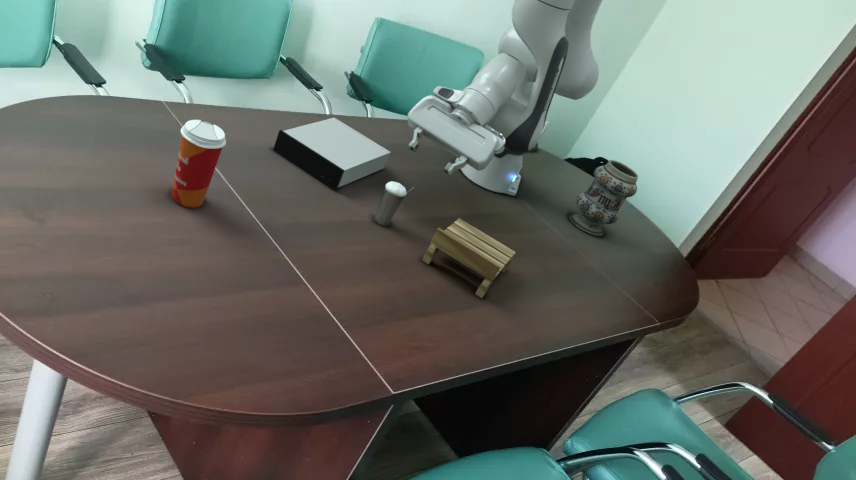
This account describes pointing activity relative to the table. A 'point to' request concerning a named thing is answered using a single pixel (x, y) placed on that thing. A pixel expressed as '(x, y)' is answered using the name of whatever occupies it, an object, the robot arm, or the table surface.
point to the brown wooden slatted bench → (471, 251)
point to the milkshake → (390, 202)
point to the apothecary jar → (604, 197)
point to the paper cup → (196, 161)
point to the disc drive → (331, 152)
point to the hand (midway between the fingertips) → (428, 160)
